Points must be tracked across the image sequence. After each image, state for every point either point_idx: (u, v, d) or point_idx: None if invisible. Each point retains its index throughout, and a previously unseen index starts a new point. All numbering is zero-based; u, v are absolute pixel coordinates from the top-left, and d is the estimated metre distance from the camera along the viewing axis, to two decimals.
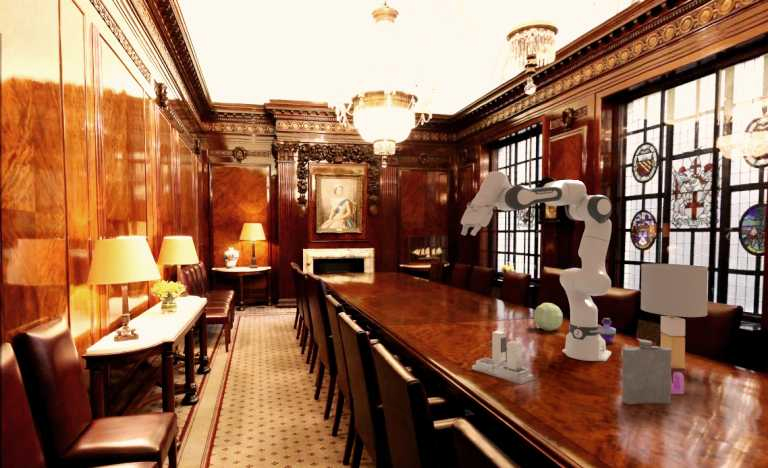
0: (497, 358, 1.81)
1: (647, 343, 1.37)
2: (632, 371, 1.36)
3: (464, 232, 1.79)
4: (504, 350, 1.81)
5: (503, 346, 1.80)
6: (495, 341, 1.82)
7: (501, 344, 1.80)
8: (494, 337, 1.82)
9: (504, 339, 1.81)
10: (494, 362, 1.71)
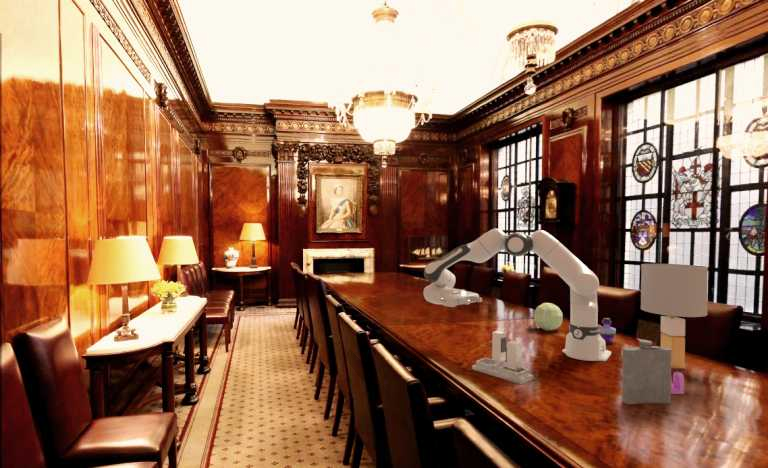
0: (497, 358, 1.81)
1: (647, 343, 1.37)
2: (632, 371, 1.36)
3: (478, 300, 1.96)
4: (504, 350, 1.81)
5: (503, 346, 1.80)
6: (495, 341, 1.82)
7: (501, 344, 1.80)
8: (494, 337, 1.82)
9: (504, 339, 1.81)
10: (494, 362, 1.71)
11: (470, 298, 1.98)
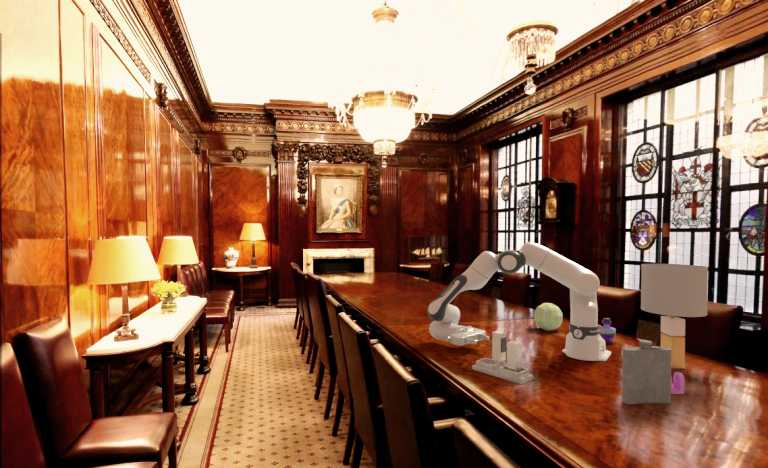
0: (497, 358, 1.81)
1: (647, 343, 1.37)
2: (632, 371, 1.36)
3: (485, 338, 1.93)
4: (504, 350, 1.81)
5: (503, 346, 1.80)
6: (495, 341, 1.82)
7: (501, 344, 1.80)
8: (494, 337, 1.82)
9: (504, 339, 1.81)
10: (494, 362, 1.71)
11: (477, 336, 1.96)
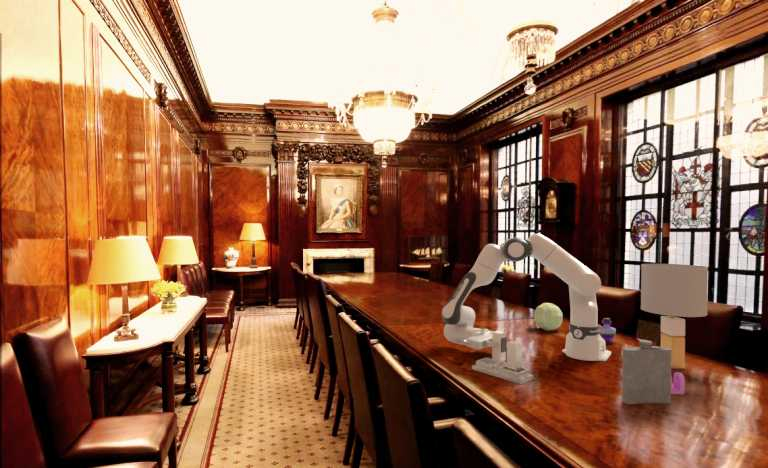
0: (497, 358, 1.81)
1: (647, 343, 1.37)
2: (632, 371, 1.36)
3: None
4: (504, 350, 1.81)
5: (503, 346, 1.80)
6: (495, 341, 1.82)
7: (501, 344, 1.80)
8: (494, 337, 1.82)
9: (504, 339, 1.81)
10: (494, 362, 1.71)
11: None
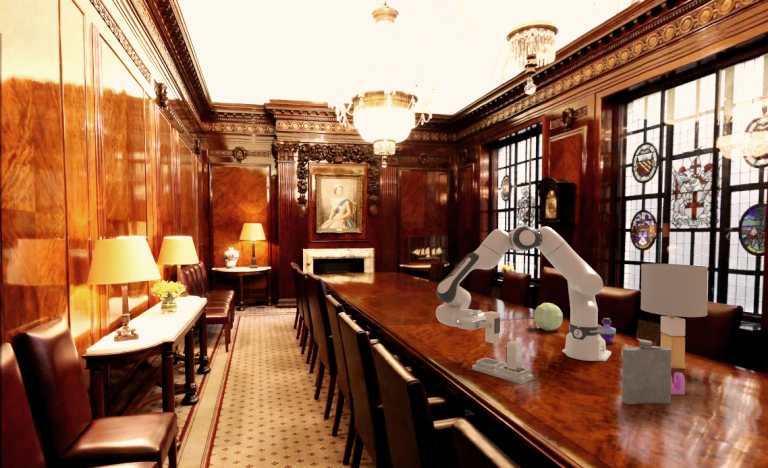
0: (490, 339, 1.72)
1: (647, 343, 1.37)
2: (632, 371, 1.36)
3: None
4: (498, 331, 1.72)
5: (497, 327, 1.72)
6: (488, 322, 1.73)
7: (494, 325, 1.71)
8: (487, 317, 1.73)
9: (498, 320, 1.72)
10: (494, 362, 1.71)
11: None
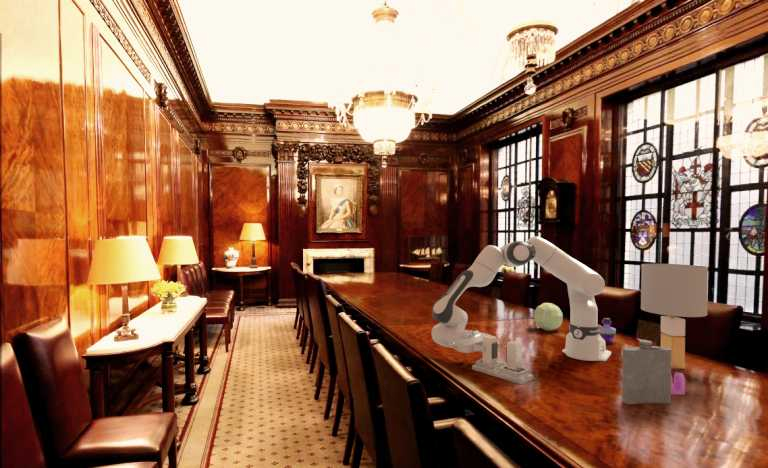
0: None
1: (647, 343, 1.37)
2: (632, 371, 1.36)
3: None
4: (495, 356, 1.67)
5: (494, 352, 1.66)
6: (485, 346, 1.68)
7: (492, 350, 1.66)
8: (484, 342, 1.68)
9: (495, 344, 1.67)
10: None
11: None
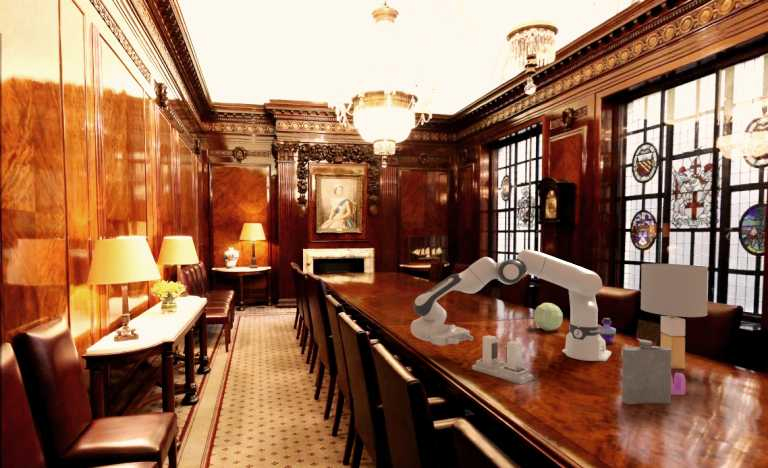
0: None
1: (647, 343, 1.37)
2: (632, 371, 1.36)
3: (469, 338, 1.81)
4: (495, 356, 1.67)
5: (494, 352, 1.66)
6: (485, 346, 1.68)
7: (492, 350, 1.66)
8: (484, 342, 1.68)
9: (495, 344, 1.67)
10: None
11: (460, 336, 1.84)
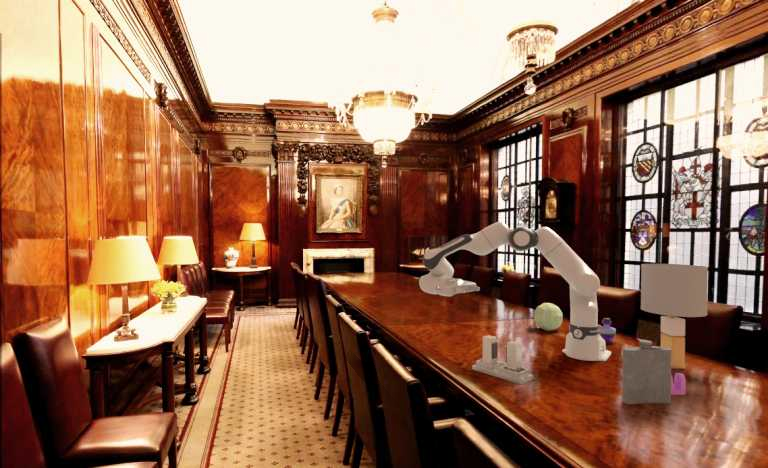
0: None
1: (647, 343, 1.37)
2: (632, 371, 1.36)
3: (475, 289, 1.88)
4: (495, 356, 1.67)
5: (494, 352, 1.66)
6: (485, 346, 1.68)
7: (492, 350, 1.66)
8: (484, 342, 1.68)
9: (495, 344, 1.67)
10: None
11: (467, 287, 1.91)
